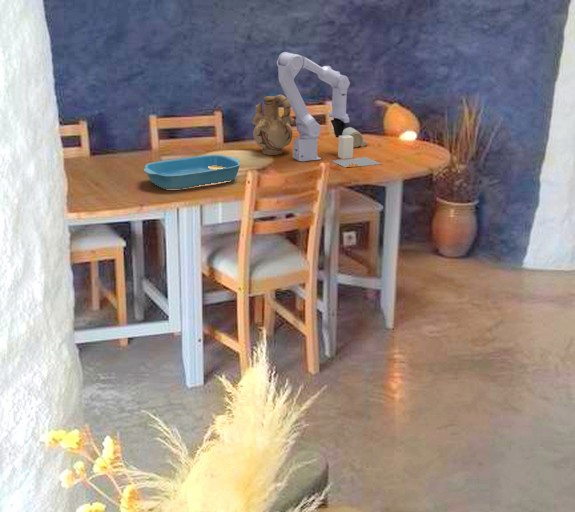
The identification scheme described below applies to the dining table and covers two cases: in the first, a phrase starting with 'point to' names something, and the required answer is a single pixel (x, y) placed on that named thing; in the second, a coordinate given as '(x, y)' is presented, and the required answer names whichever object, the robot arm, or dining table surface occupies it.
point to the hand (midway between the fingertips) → (338, 137)
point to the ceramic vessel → (273, 125)
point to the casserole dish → (192, 171)
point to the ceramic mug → (357, 137)
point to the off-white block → (345, 147)
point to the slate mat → (356, 162)
